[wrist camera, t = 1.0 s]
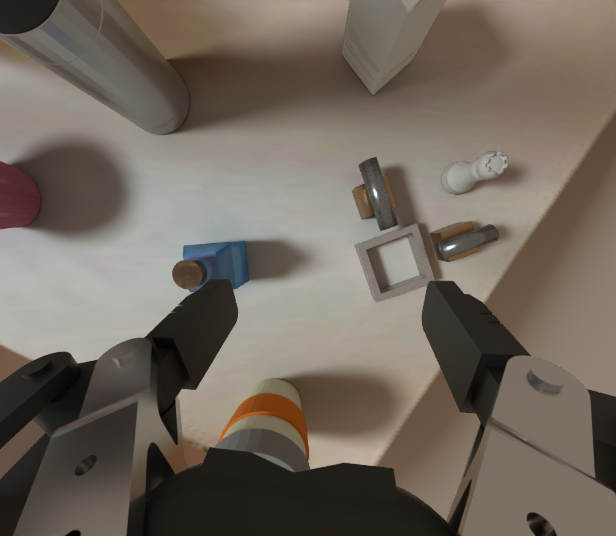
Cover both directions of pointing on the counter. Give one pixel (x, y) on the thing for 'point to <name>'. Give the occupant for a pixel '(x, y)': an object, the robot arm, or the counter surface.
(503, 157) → the rook chess piece
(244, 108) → the counter surface
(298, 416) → the reusable coffee cup
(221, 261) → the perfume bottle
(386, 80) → the supplement box
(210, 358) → the robot arm
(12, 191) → the plant pot
